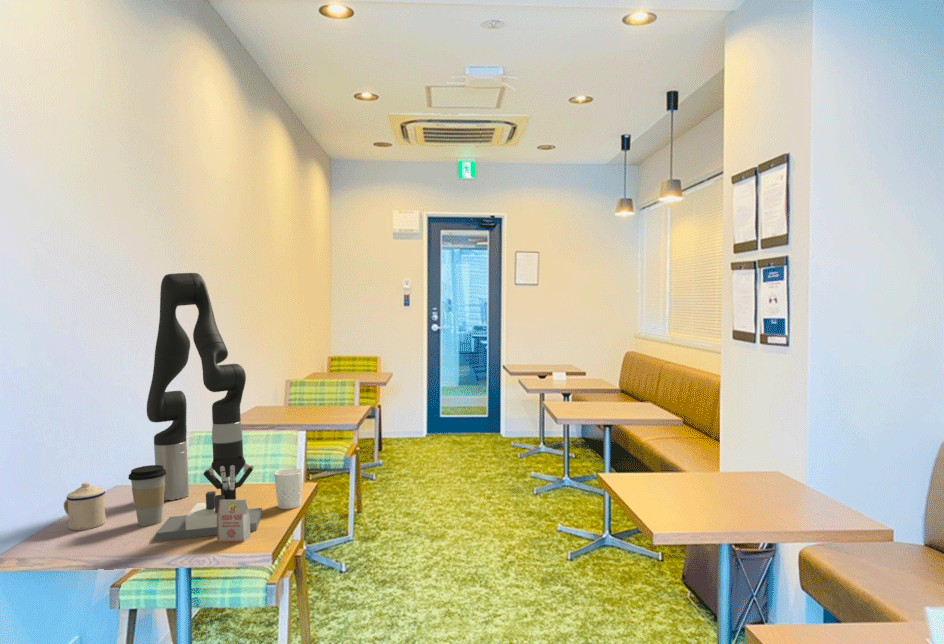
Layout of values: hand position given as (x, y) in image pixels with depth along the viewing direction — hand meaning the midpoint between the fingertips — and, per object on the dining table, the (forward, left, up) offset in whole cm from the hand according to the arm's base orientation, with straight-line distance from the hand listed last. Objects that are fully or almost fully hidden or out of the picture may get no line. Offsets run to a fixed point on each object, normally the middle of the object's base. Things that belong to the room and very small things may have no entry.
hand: (230, 503), depth 168 cm
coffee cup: (-10, -23, -6) cm, 26 cm away
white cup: (-13, +14, -6) cm, 20 cm away
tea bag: (+12, +3, -6) cm, 13 cm away
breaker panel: (0, -5, -6) cm, 8 cm away
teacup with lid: (-14, -41, -6) cm, 43 cm away
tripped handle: (0, -5, -1) cm, 5 cm away
